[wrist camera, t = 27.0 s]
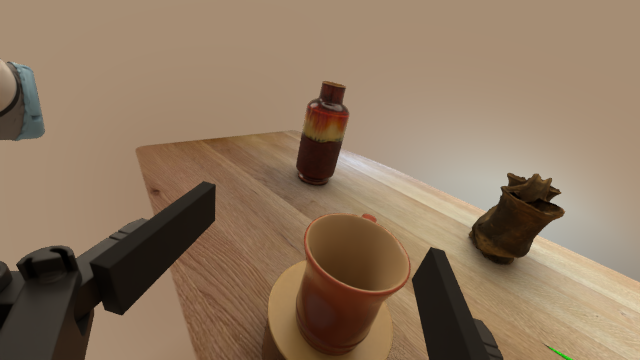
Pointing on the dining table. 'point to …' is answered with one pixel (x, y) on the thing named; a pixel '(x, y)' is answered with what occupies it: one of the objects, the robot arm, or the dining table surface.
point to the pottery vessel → (516, 218)
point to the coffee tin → (288, 344)
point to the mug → (346, 280)
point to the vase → (322, 134)
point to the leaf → (560, 354)
